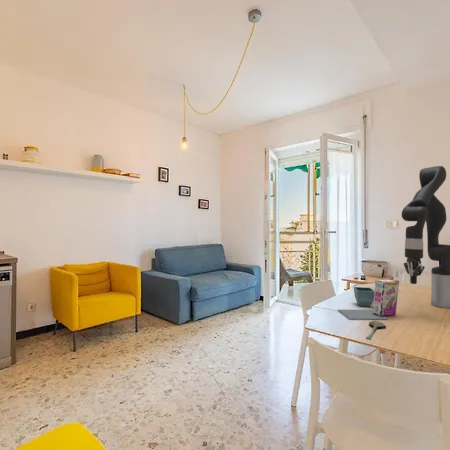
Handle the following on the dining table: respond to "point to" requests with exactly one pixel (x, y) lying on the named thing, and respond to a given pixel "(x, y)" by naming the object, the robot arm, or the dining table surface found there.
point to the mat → (361, 315)
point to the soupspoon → (375, 324)
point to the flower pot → (364, 296)
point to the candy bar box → (385, 297)
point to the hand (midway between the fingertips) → (413, 283)
